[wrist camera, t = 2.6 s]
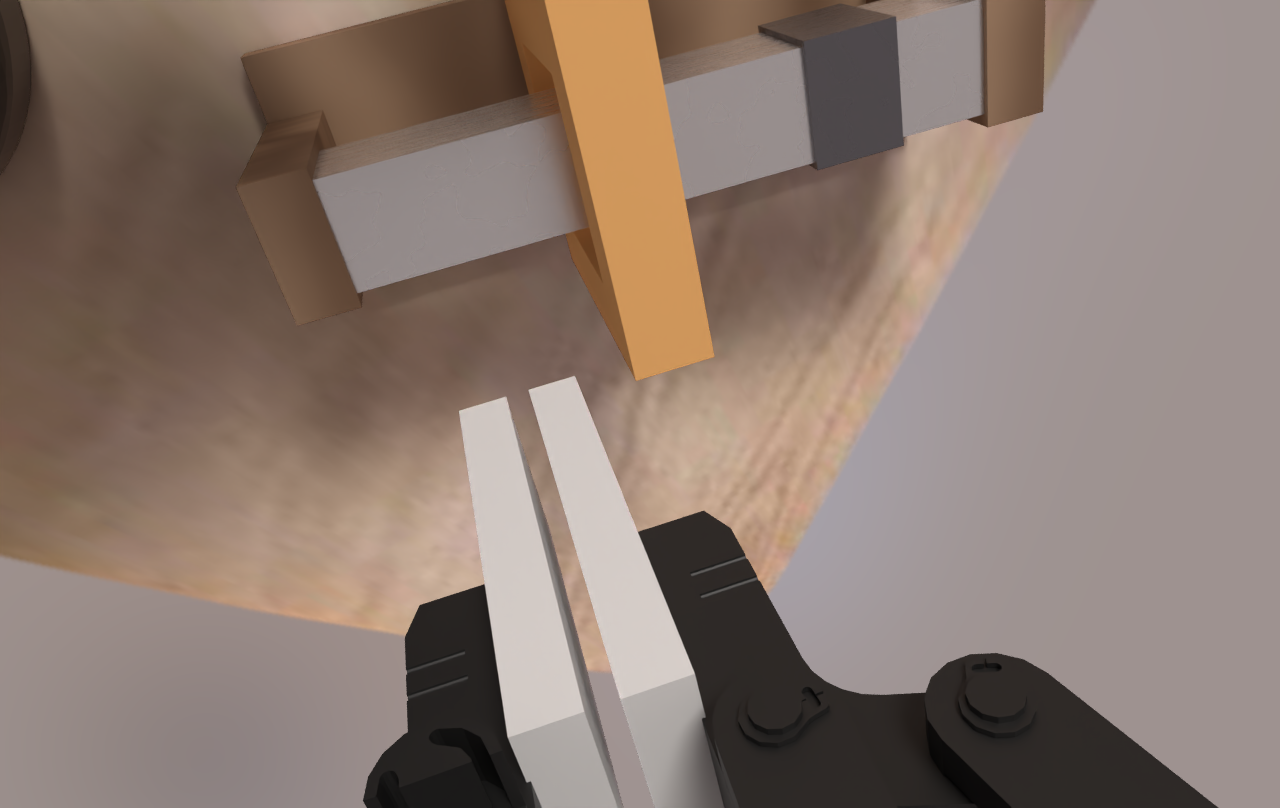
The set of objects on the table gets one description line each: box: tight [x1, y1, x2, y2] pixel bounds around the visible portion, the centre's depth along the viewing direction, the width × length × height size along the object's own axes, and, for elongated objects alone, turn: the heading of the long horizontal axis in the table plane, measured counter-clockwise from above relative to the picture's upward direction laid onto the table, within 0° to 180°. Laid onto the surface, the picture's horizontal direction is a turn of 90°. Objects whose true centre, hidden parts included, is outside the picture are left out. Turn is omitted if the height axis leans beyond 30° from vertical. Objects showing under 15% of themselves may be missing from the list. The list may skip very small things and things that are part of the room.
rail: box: [312, 0, 984, 293], centre depth 30 cm, size 22×4×4 cm, turn 102°
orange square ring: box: [505, 0, 714, 381], centre depth 30 cm, size 2×11×11 cm, turn 12°
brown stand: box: [236, 0, 1045, 326], centre depth 32 cm, size 25×9×10 cm, turn 102°
